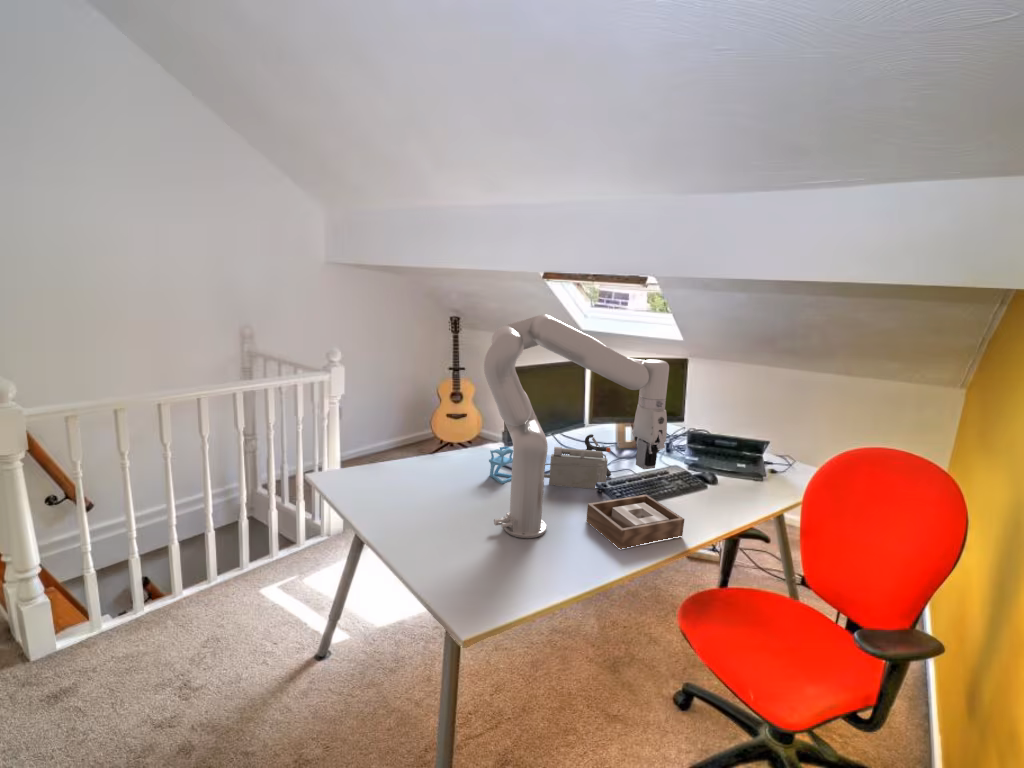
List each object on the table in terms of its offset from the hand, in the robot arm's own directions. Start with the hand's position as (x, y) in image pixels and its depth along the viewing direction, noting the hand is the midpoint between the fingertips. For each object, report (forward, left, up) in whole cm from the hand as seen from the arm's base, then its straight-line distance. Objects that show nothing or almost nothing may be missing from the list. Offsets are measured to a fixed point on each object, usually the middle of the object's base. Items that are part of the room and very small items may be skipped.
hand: (645, 462), depth 162 cm
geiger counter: (-4, +35, -22) cm, 41 cm away
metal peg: (0, 0, -1) cm, 1 cm away
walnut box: (-2, 0, -21) cm, 21 cm away
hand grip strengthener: (+11, +42, -22) cm, 49 cm away
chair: (-25, +49, -22) cm, 59 cm away
